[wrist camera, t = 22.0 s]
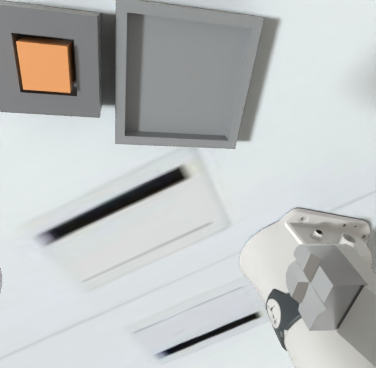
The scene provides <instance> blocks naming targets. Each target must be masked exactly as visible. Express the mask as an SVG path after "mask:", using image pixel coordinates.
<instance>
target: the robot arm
mask: <svg viewBox="0 0 376 368" xmlns="http://www.w3.org/2000/svg"><path fill="white" fill-rule="evenodd" d="M369 236H370V227H369V225H368V223H367V222H366V221H364V220H359V219H353V218H348V217H343V216H337V215H332V214H327V213H321V212H316V211H311V210H305V209H300V208H295V209H293V210H291V211H289V212H288V213H287V214H286V215H285V216H284V217H282V218H281V219H280V220H279V221H278V222H276V223H274V224H272V225H270V226H268V227H266V228H264V229H262V230H261V231H259V232H258V233H257V234H255V235H254V236H253V237H252V238H251V239H250V240H249V241H248V242H247V244H246V245H245V246H244V248H243V250H242V252H241V255H240V259H239V265H240V269H241V271H242V273H243V274H244V275H245V276H246V277H247V279H248V280H249V281H250V282H251V283H252V285H253V286H254V288H255V289H256V291H257V292H258V294H259V295H260V297H261V299H262V300H263V302H264V304H265V306H266V310H267V313H268V316H269V318H270V321H271V323H272V326H273V328H274V330H275V333H276V335H277V337H278V339H279V341H280V343H281V345H282V347H283V348H284V349H285V350H286V351H288V354H289V356H290V358H291V361H292V363H293V365H294V367H295V368H376V273H375V272H374V271H373V270H372V266H373V256H372V253H371V251H370V249H369V248H368V246H367V243H368V240H369ZM1 287H2V273H1V268H0V292H1Z"/></svg>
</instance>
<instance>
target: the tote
mask: <svg viewBox="0 0 376 368" xmlns="http://www.w3.org/2000/svg"><path fill="white" fill-rule="evenodd" d="M263 21H264V18H262V17H258V16H253V15H245V14H238V13H231V12H223V11H216V10H209V9H201V8H194V7H187V6H179V5H172V4H165V3H157V2H150V1H143V0H116V92H115V144H131V145H155V146H179V147H202V148H226V149H235V147H236V142H237V138H238V133H239V129H240V124H241V120H242V115H243V111H244V106H245V102H246V97H247V93H248V88H249V84H250V79H251V75H252V71H253V66H254V62H255V57H256V53H257V48H258V44H259V39H260V35H261V30H262V26H263Z"/></svg>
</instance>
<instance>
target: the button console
mask: <svg viewBox="0 0 376 368" xmlns="http://www.w3.org/2000/svg"><path fill="white" fill-rule="evenodd" d="M25 36H29V37H39V38H48V39H58V40H67V41H72V49H73V65H74V80H75V85H74V87H73V89H72V91H71V93H64V92H50V91H36V90H23V85H22V78H21V71H20V64H19V58H18V51H17V44H16V41H17V40H19V39H21V38H23V37H25ZM101 108H102V74H101V21H100V13H98V12H90V11H82V10H74V9H66V8H58V7H50V6H42V5H34V4H26V3H18V2H10V1H2V0H0V112H11V113H28V114H45V115H62V116H80V117H97V118H100V113H101Z"/></svg>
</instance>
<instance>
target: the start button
mask: <svg viewBox="0 0 376 368" xmlns="http://www.w3.org/2000/svg"><path fill="white" fill-rule="evenodd" d="M16 44H17V51H18V58H19V64H20V71H21V78H22V85H23V90H36V91H50V92H64V93H71V91H72V89H73V87H74V85H75V80H74V65H73V49H72V41H67V40H58V39H48V38H39V37H29V36H25V37H23V38H21V39H19V40H17V41H16Z"/></svg>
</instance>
